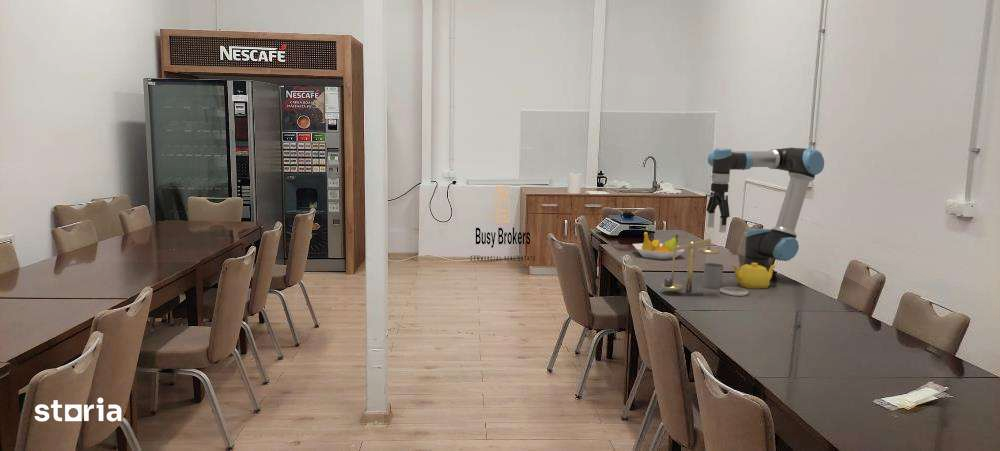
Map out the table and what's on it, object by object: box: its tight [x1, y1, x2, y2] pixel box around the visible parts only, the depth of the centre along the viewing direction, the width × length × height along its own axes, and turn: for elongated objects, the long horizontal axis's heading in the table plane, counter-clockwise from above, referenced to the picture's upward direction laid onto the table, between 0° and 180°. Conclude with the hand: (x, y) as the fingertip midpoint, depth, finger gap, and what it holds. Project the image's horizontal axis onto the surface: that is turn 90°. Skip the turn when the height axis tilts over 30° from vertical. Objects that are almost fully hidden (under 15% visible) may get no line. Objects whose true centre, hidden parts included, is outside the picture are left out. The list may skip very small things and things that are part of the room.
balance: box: [660, 238, 721, 297], centre depth 307 cm, size 24×9×24 cm, turn 96°
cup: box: [702, 262, 724, 290], centre depth 323 cm, size 8×8×10 cm
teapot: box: [731, 263, 778, 290], centre depth 327 cm, size 22×16×11 cm
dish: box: [719, 286, 749, 297], centre depth 312 cm, size 12×12×1 cm
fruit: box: [632, 231, 686, 261], centre depth 391 cm, size 30×26×14 cm
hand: (716, 229), depth 319 cm, fingers open, 13 cm apart
